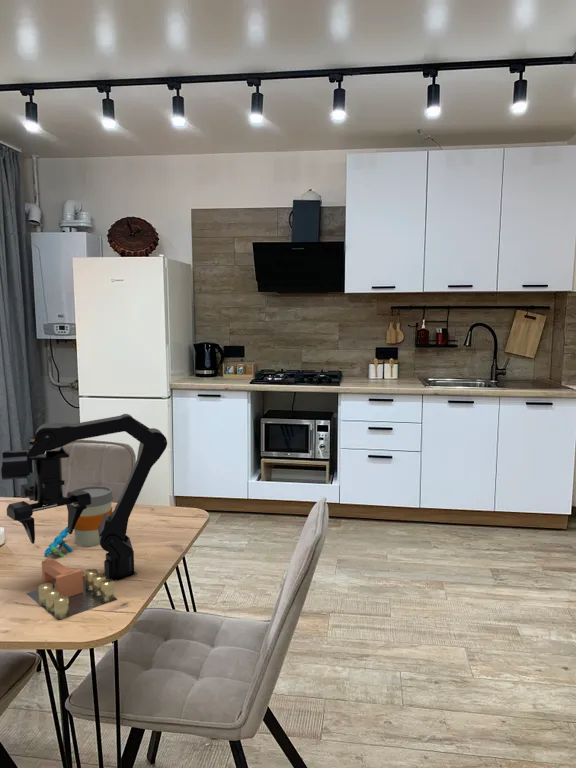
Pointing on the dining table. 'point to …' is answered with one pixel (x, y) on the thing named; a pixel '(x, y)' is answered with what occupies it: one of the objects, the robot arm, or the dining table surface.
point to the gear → (61, 542)
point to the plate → (75, 596)
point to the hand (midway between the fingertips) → (51, 538)
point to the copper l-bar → (63, 577)
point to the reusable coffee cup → (93, 515)
